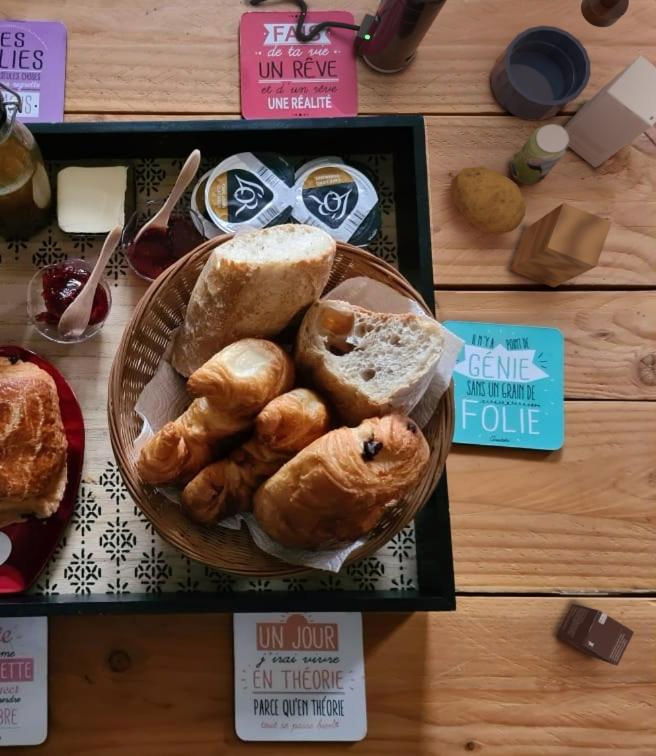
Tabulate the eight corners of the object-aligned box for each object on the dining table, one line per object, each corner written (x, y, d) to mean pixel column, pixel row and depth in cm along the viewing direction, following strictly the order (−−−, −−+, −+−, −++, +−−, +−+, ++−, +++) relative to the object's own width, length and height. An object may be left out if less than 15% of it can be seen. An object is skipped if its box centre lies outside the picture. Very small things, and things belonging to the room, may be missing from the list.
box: (588, 656, 117) (617, 667, 109) (554, 635, 117) (581, 645, 110) (605, 622, 118) (635, 631, 110) (572, 602, 118) (600, 609, 111)
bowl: (477, 104, 130) (493, 85, 124) (504, 34, 132) (521, 13, 126) (555, 134, 130) (575, 117, 124) (581, 64, 132) (601, 44, 126)
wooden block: (509, 269, 126) (547, 247, 114) (524, 228, 127) (563, 202, 115) (553, 287, 126) (596, 267, 114) (568, 246, 127) (612, 221, 115)
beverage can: (543, 187, 128) (584, 157, 116) (501, 186, 128) (537, 156, 116) (541, 153, 129) (581, 120, 117) (500, 152, 129) (535, 119, 117)
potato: (498, 140, 120) (458, 171, 118) (551, 203, 119) (511, 235, 117) (467, 165, 129) (429, 195, 127) (516, 224, 128) (478, 254, 126)
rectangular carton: (625, 134, 130) (687, 89, 115) (594, 169, 129) (652, 128, 114) (585, 101, 131) (641, 52, 116) (554, 136, 130) (606, 91, 115)
